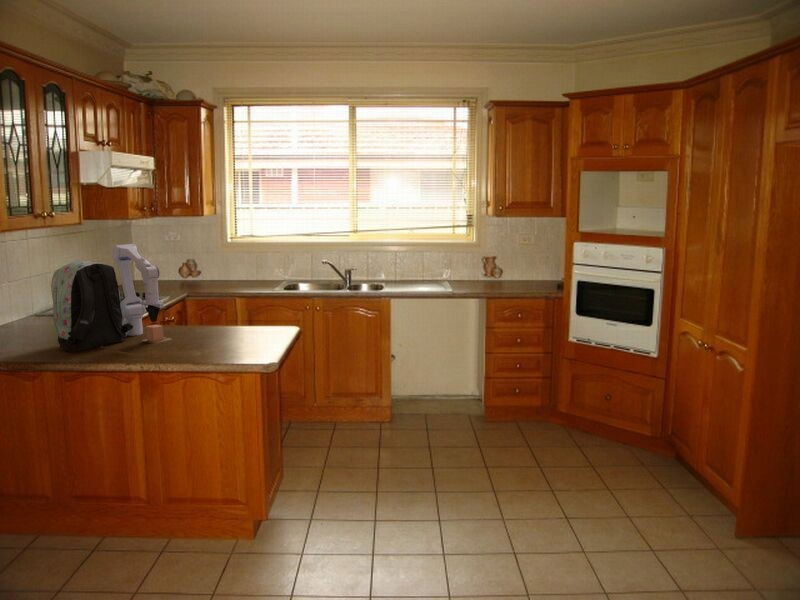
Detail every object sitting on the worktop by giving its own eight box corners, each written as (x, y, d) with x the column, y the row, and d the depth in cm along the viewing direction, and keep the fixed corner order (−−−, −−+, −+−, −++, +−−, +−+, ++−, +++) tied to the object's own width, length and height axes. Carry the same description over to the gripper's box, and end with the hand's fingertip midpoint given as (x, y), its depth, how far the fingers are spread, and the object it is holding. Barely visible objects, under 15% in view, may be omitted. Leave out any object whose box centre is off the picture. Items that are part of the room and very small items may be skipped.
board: (141, 341, 306) (141, 340, 306) (160, 337, 314) (160, 336, 314) (154, 345, 300) (153, 343, 300) (173, 340, 308) (172, 339, 308)
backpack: (102, 335, 320) (95, 256, 314) (137, 340, 309) (131, 258, 302) (40, 350, 292) (30, 263, 285) (76, 356, 281) (67, 266, 274)
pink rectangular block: (147, 340, 306) (146, 326, 304) (157, 338, 310) (156, 324, 308) (153, 341, 302) (152, 327, 301) (163, 339, 307) (162, 325, 305)
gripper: (168, 292, 301) (170, 322, 303) (150, 290, 309) (152, 318, 312) (155, 295, 295) (157, 324, 298) (136, 292, 304) (139, 320, 306)
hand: (153, 321), depth 304 cm, fingers closed
